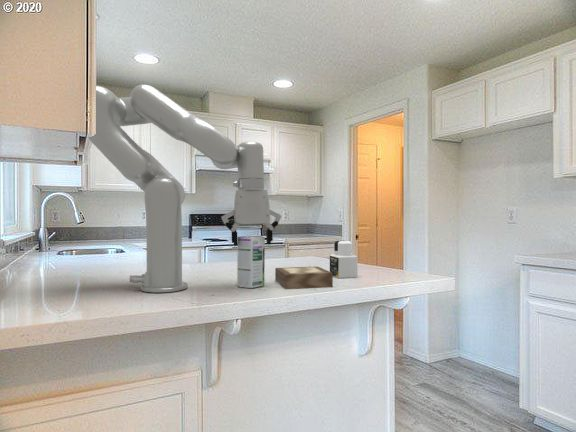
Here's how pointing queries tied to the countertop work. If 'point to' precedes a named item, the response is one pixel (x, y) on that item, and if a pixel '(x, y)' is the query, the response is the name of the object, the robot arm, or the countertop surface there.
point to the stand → (303, 277)
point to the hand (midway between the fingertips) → (252, 244)
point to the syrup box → (250, 261)
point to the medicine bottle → (343, 260)
